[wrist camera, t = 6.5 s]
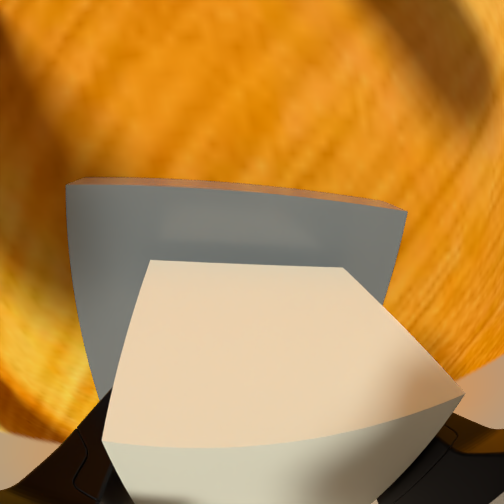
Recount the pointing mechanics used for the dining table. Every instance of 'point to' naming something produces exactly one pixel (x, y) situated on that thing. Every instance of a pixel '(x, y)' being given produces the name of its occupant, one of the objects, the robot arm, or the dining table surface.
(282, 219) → the plate
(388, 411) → the cube
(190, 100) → the dining table surface
